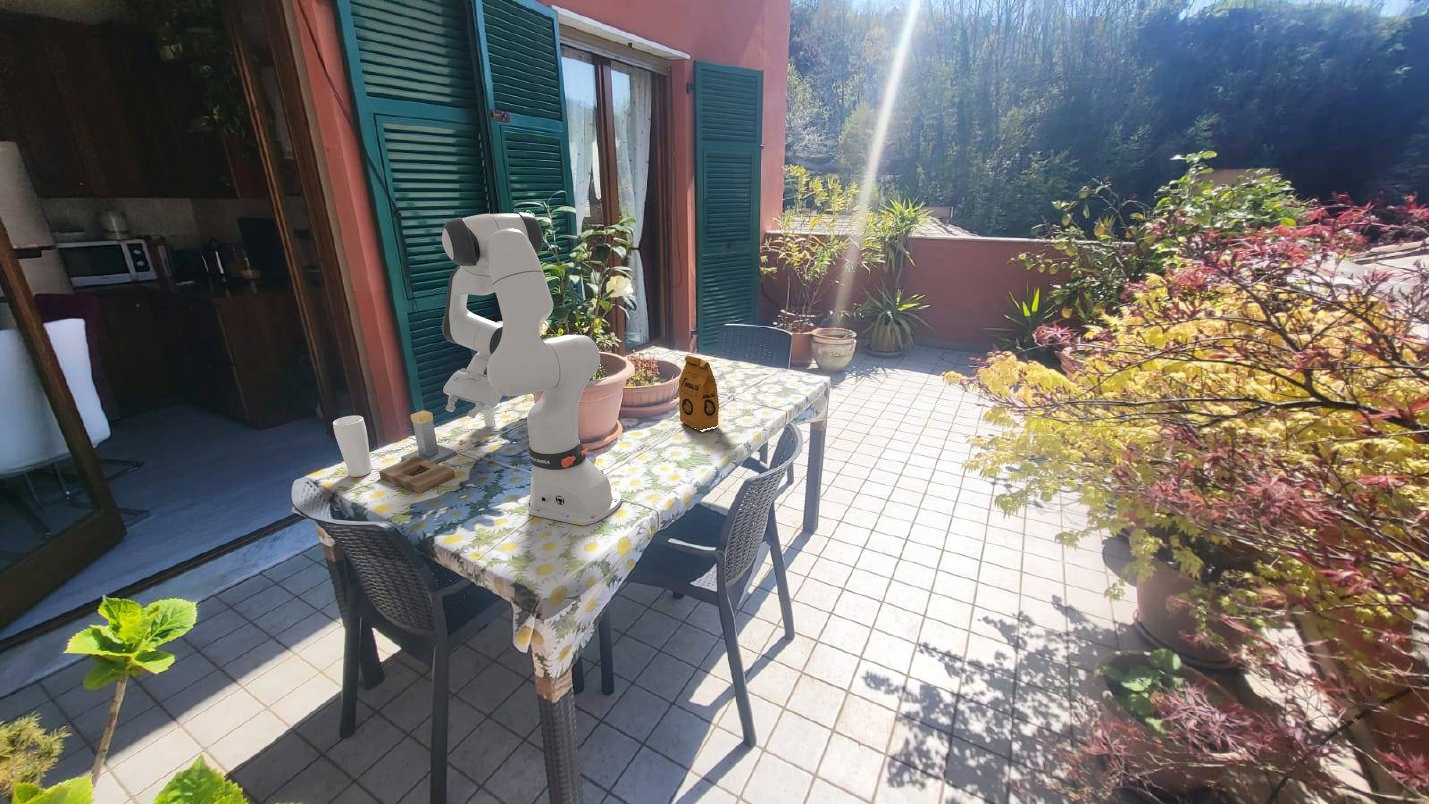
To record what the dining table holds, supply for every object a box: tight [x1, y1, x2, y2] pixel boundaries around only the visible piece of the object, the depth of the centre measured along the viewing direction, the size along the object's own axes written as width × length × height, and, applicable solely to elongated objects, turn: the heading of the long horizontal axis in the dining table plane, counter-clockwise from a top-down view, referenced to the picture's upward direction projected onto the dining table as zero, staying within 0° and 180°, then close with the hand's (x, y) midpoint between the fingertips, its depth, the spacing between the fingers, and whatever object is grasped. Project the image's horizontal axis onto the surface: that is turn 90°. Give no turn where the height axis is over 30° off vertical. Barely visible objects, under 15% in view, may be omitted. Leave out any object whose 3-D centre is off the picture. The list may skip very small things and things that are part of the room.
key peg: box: [410, 410, 439, 458], centre depth 155 cm, size 4×4×12 cm
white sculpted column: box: [478, 402, 501, 428], centre depth 176 cm, size 7×7×15 cm
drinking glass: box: [332, 415, 373, 478], centre depth 146 cm, size 7×7×15 cm
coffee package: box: [678, 354, 720, 431], centre depth 175 cm, size 10×12×22 cm
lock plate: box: [378, 456, 456, 494], centre depth 146 cm, size 16×10×2 cm, turn 60°
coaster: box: [400, 444, 458, 464], centre depth 157 cm, size 10×10×1 cm
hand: (459, 414), depth 163 cm, fingers open, 8 cm apart
